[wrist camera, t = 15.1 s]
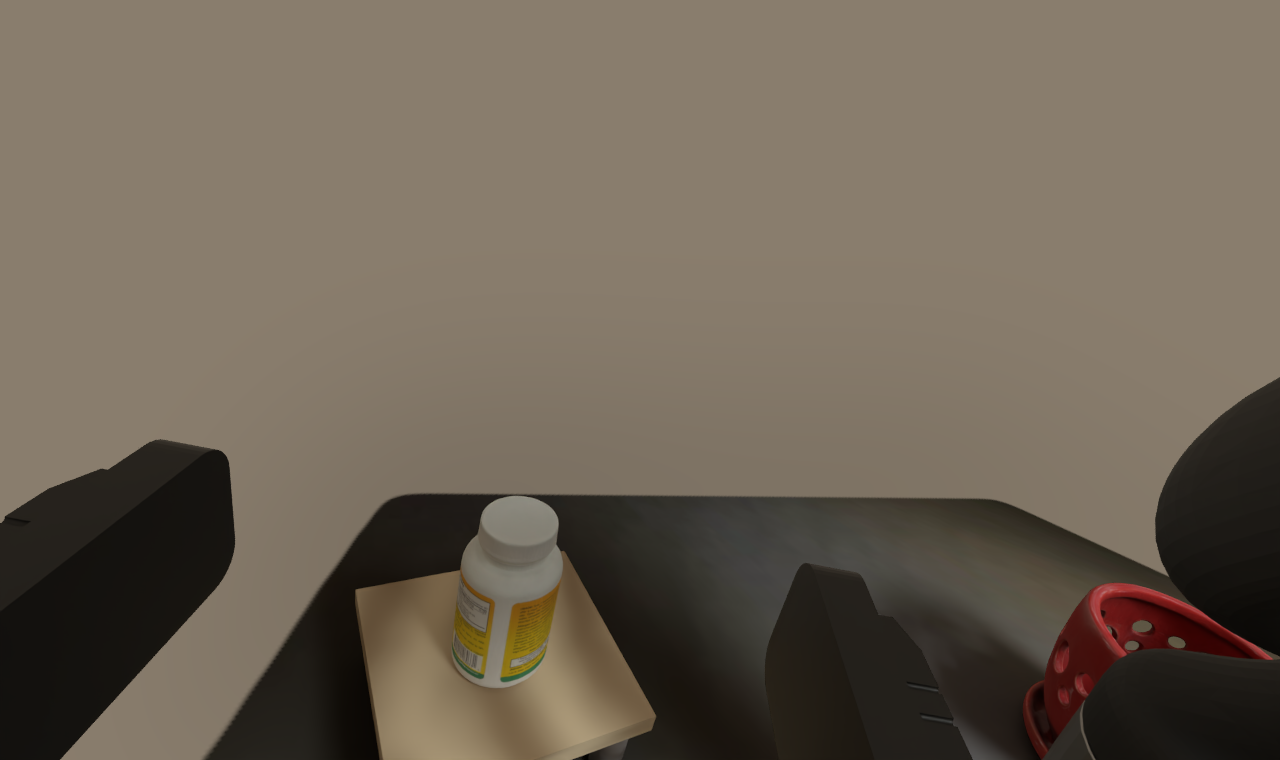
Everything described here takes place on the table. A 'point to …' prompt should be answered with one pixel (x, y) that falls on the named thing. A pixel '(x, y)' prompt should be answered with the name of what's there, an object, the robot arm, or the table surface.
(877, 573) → the table surface
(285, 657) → the table surface
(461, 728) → the peg shelf
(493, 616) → the supplement bottle
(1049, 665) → the plant pot
